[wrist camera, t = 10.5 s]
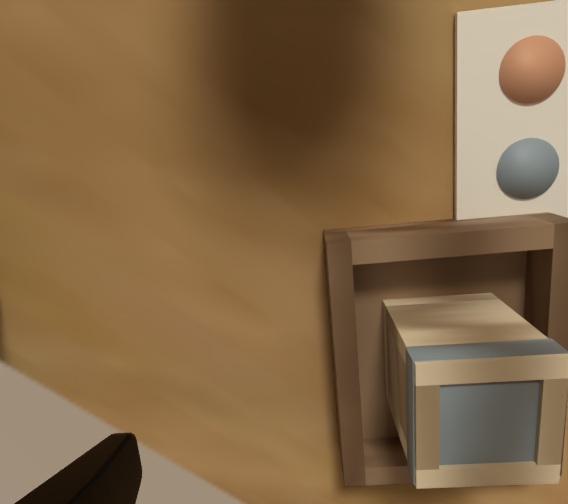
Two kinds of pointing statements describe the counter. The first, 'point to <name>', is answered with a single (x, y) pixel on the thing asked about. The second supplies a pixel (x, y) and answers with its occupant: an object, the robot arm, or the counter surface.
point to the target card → (511, 111)
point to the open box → (427, 283)
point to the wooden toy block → (473, 392)
